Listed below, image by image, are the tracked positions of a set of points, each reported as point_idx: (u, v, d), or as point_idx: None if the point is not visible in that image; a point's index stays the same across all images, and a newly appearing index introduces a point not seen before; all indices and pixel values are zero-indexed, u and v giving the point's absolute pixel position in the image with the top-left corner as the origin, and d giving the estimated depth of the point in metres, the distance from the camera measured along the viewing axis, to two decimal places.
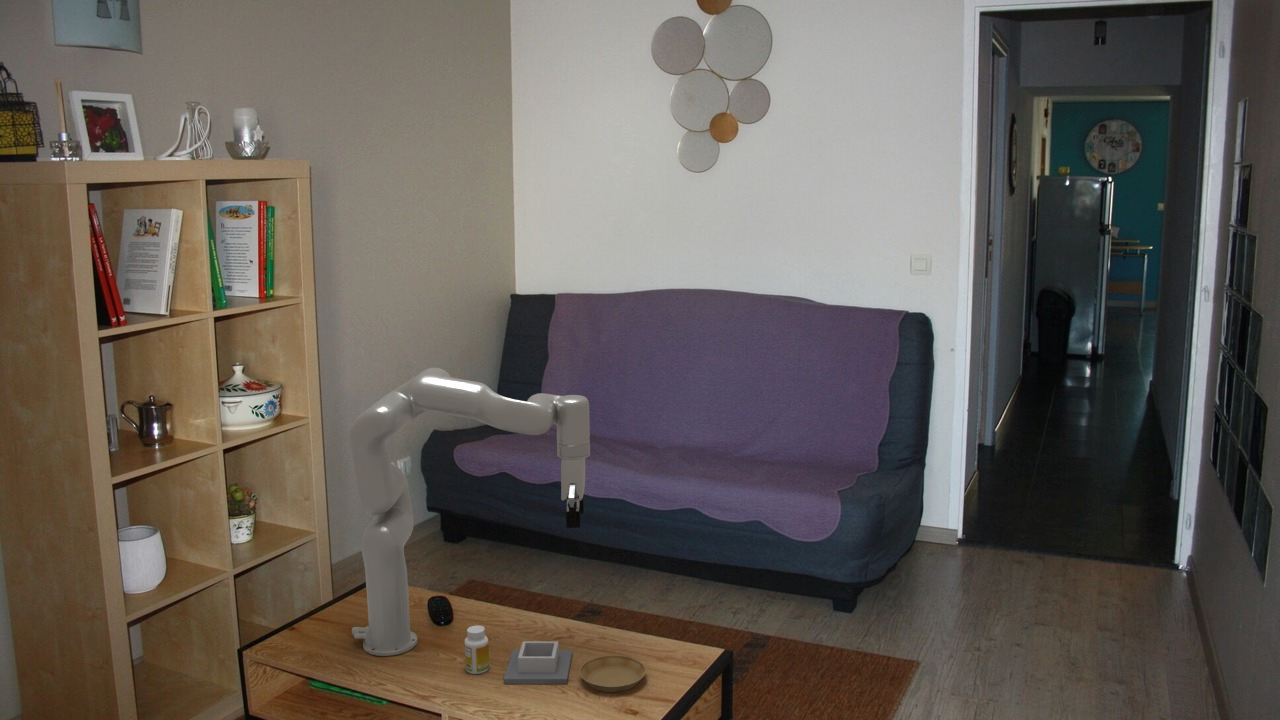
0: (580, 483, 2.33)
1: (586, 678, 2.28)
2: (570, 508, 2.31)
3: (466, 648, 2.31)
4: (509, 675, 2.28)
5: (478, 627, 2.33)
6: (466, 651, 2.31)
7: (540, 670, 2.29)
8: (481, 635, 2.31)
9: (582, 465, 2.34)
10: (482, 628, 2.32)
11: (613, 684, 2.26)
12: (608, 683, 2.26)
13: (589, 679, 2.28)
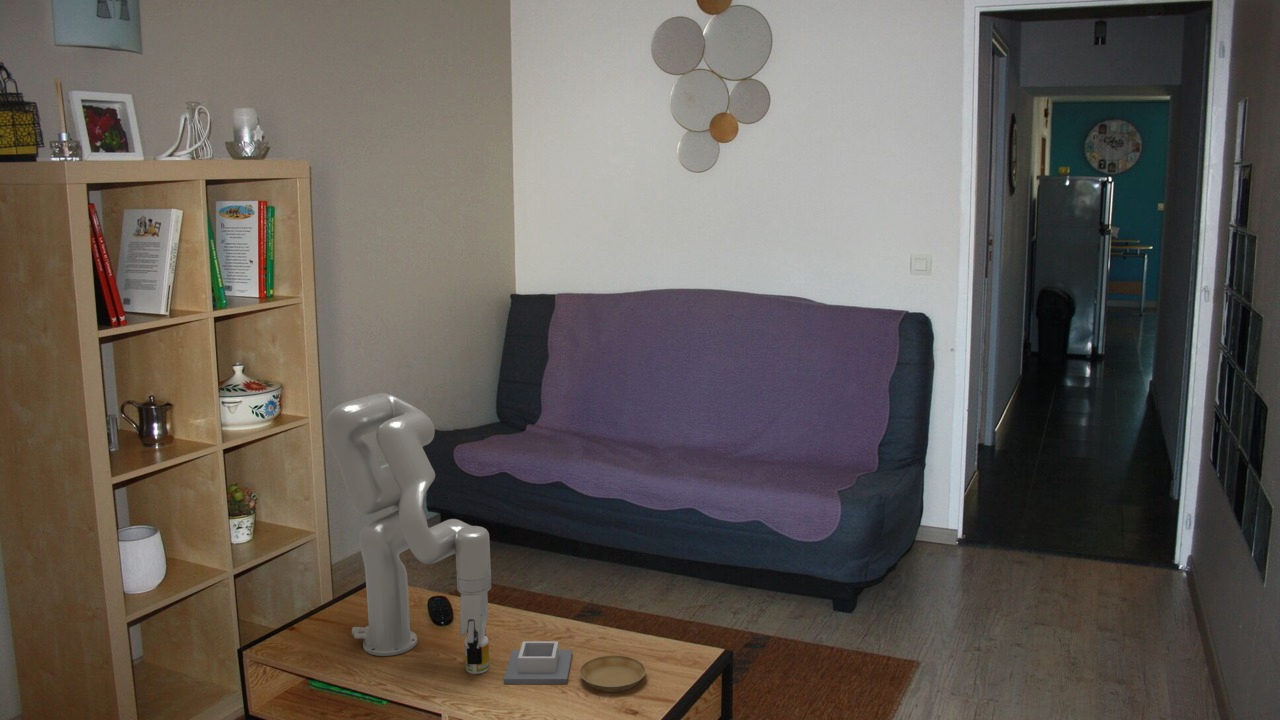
0: (479, 619, 2.26)
1: (586, 678, 2.28)
2: (470, 646, 2.27)
3: (466, 648, 2.31)
4: (509, 675, 2.28)
5: None
6: (466, 651, 2.31)
7: (540, 670, 2.29)
8: (481, 635, 2.31)
9: (482, 600, 2.27)
10: None
11: (613, 684, 2.26)
12: (608, 683, 2.26)
13: (589, 679, 2.28)
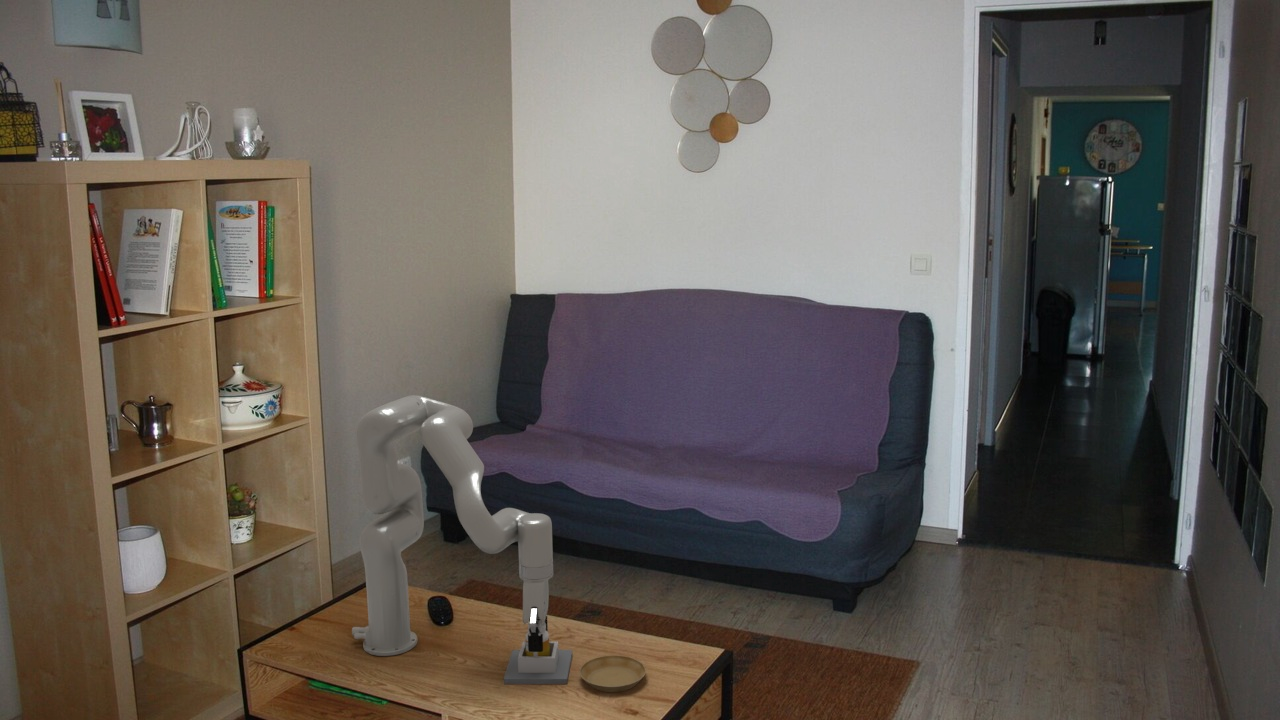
0: (542, 606, 2.26)
1: (586, 678, 2.28)
2: (532, 633, 2.25)
3: (527, 643, 2.30)
4: (509, 675, 2.28)
5: None
6: (527, 646, 2.31)
7: (540, 670, 2.29)
8: (542, 630, 2.30)
9: (544, 587, 2.26)
10: (543, 623, 2.32)
11: (613, 684, 2.26)
12: (608, 683, 2.26)
13: (589, 679, 2.28)
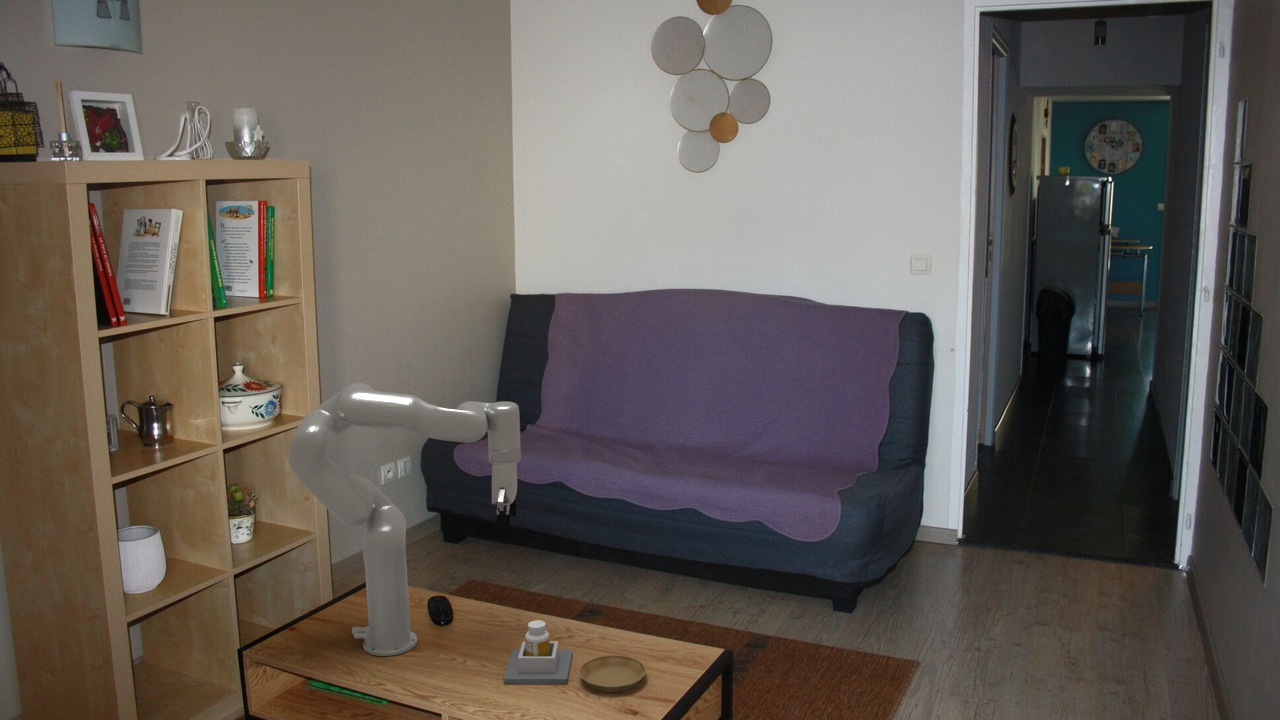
0: (510, 487, 2.40)
1: (586, 678, 2.28)
2: (500, 511, 2.38)
3: (527, 643, 2.30)
4: (509, 675, 2.28)
5: (538, 622, 2.32)
6: (527, 646, 2.31)
7: (540, 670, 2.29)
8: (542, 630, 2.30)
9: (512, 470, 2.40)
10: (543, 623, 2.32)
11: (613, 684, 2.26)
12: (608, 683, 2.26)
13: (589, 679, 2.28)
